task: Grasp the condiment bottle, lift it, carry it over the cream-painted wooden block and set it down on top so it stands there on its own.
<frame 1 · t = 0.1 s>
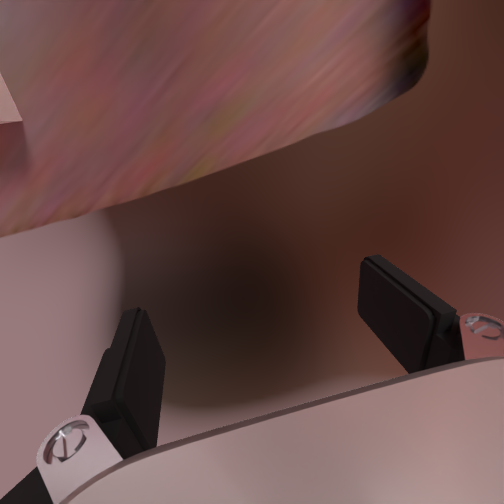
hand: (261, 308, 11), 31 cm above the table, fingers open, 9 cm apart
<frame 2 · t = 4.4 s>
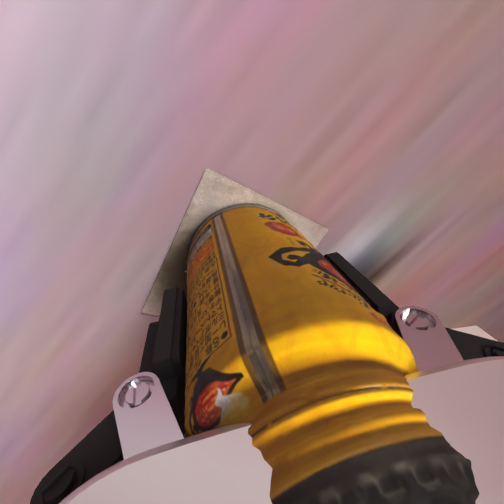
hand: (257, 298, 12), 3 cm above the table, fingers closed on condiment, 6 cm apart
condiment: (234, 266, 15), on the table, touching gripper
when the fingers open (10 cm above the table, at t = 9.9 s): condiment drops 1 cm, point 5 cm above the table.
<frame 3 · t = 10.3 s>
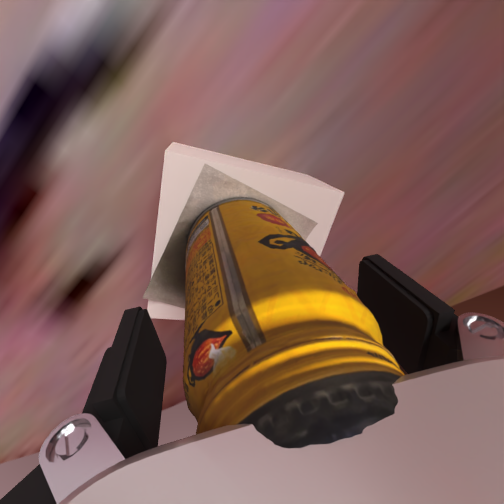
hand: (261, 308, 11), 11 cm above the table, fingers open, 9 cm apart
condiment: (229, 256, 16), point 5 cm above the table
cream block: (229, 223, 21), on the table
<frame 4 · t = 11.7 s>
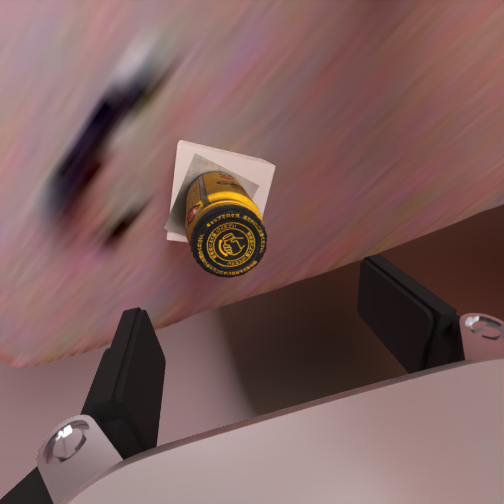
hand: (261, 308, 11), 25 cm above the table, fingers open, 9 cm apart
condiment: (211, 205, 29), point 6 cm above the table, touching cream block
cream block: (215, 190, 34), on the table, touching condiment
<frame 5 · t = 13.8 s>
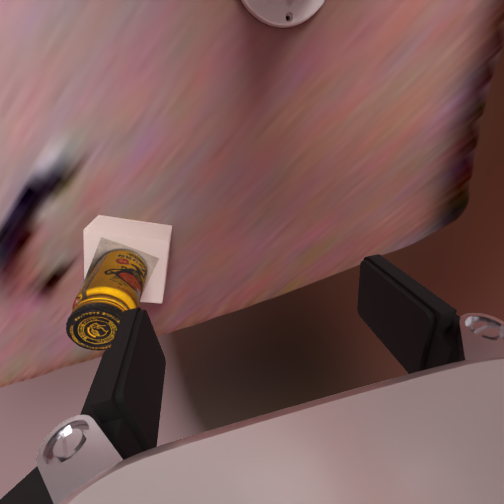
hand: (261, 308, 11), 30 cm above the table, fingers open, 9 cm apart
condiment: (120, 272, 36), point 6 cm above the table, touching cream block
cream block: (135, 250, 41), on the table, touching condiment
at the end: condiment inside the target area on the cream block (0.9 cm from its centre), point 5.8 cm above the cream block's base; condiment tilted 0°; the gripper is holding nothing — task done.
